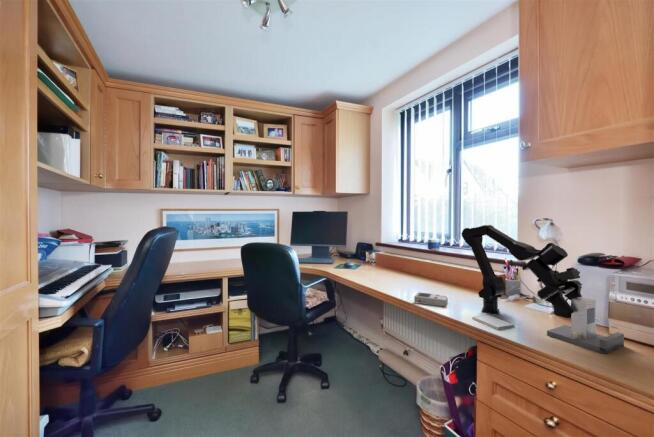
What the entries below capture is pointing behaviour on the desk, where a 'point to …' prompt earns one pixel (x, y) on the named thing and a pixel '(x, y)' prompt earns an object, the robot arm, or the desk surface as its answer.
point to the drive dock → (595, 343)
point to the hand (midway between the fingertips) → (580, 310)
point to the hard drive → (493, 322)
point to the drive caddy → (583, 317)
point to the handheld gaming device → (431, 299)
